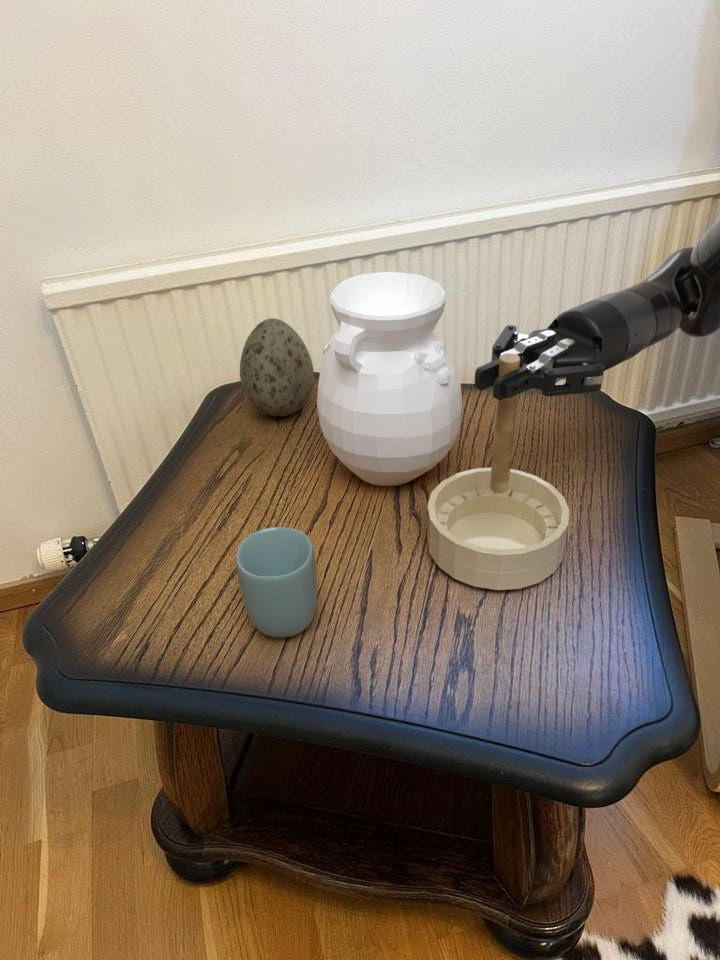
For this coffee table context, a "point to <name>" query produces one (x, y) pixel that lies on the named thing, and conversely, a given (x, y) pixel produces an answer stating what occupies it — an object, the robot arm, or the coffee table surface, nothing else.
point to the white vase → (388, 379)
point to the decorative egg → (276, 369)
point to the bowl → (497, 529)
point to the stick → (503, 430)
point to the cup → (278, 580)
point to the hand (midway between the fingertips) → (487, 385)
